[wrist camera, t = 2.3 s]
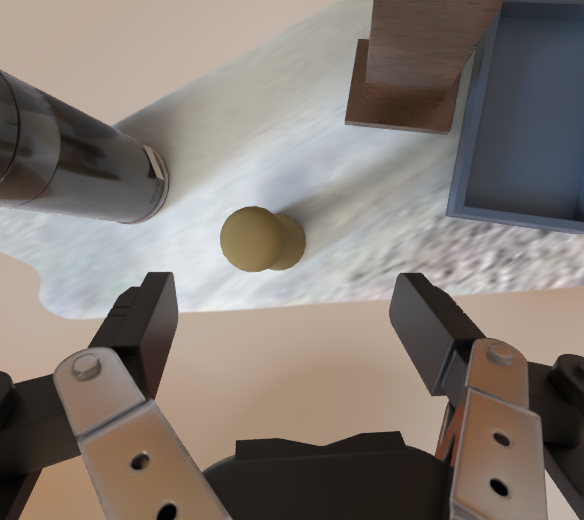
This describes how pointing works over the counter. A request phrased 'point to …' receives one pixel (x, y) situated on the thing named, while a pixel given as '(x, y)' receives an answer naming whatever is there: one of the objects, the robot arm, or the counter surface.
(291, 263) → the cork
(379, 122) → the wooden pedestal stand
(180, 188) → the counter surface
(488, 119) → the tray
